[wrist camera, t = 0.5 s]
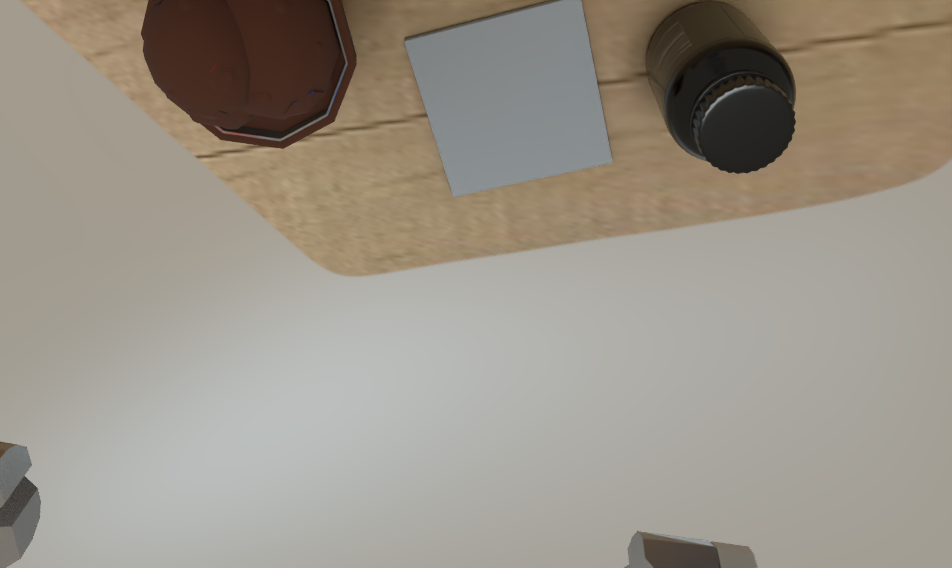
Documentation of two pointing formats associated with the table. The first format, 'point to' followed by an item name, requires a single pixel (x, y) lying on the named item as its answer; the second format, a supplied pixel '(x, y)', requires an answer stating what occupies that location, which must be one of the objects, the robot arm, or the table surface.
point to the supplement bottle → (722, 87)
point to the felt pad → (512, 96)
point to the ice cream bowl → (251, 64)
